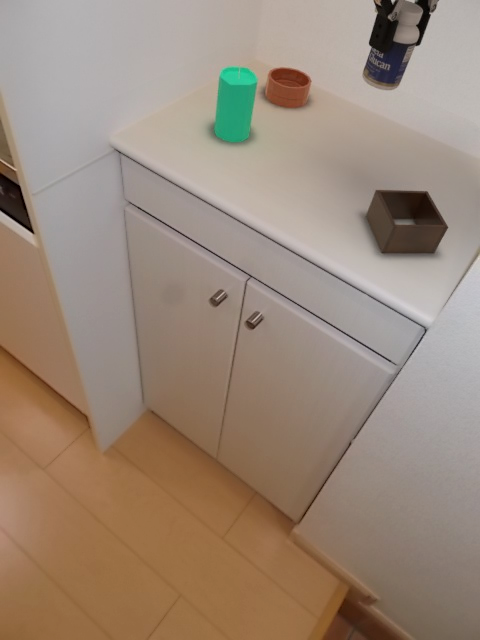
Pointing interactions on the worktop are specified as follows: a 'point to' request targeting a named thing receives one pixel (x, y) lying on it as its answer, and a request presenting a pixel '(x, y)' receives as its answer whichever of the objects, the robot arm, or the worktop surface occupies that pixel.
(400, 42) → the pill bottle
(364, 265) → the worktop surface
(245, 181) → the worktop surface
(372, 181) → the worktop surface
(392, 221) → the box
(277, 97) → the bowl
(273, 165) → the worktop surface
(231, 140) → the candle
